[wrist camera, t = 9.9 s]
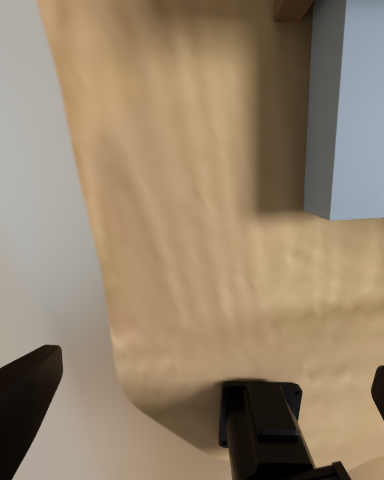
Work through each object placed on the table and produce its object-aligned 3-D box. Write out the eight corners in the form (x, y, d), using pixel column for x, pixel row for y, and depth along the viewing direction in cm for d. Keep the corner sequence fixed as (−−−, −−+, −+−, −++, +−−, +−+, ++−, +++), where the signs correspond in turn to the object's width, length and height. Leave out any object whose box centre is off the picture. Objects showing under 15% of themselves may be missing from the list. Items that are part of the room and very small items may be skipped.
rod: (359, 206, 18) (403, 216, 15) (301, 209, 19) (329, 220, 15) (390, -88, 14) (462, -183, 10) (315, -81, 14) (359, -174, 11)
